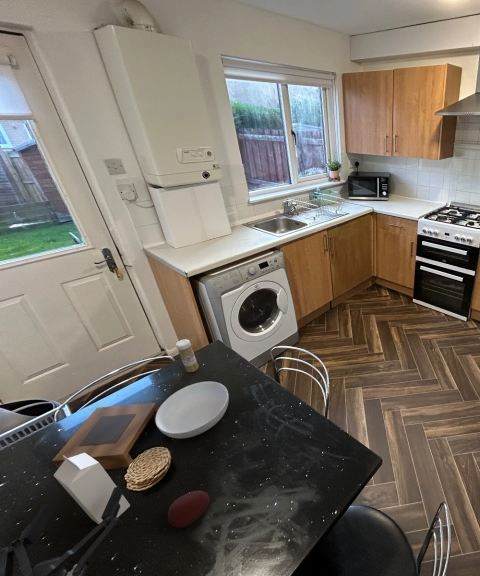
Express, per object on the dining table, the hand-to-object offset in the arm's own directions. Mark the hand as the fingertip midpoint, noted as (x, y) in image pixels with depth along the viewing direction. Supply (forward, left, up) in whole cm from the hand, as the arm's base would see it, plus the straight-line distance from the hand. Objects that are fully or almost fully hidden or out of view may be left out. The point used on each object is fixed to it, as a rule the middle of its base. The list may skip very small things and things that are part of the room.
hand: (84, 498), depth 71 cm
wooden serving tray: (-12, +24, -12) cm, 29 cm away
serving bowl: (+10, +30, -12) cm, 34 cm away
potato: (+20, 0, -12) cm, 24 cm away
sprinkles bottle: (-2, +55, -12) cm, 56 cm away
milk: (-1, +3, -12) cm, 12 cm away
